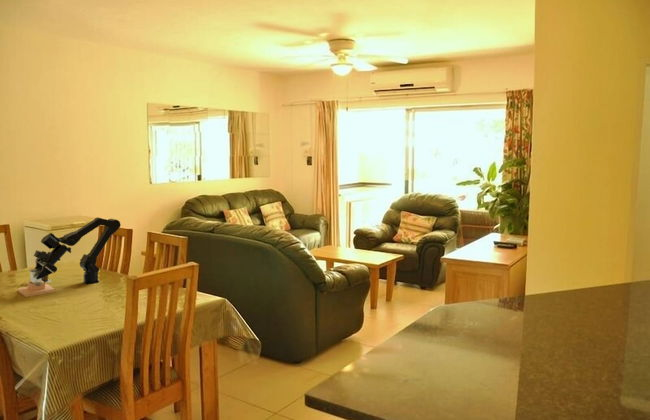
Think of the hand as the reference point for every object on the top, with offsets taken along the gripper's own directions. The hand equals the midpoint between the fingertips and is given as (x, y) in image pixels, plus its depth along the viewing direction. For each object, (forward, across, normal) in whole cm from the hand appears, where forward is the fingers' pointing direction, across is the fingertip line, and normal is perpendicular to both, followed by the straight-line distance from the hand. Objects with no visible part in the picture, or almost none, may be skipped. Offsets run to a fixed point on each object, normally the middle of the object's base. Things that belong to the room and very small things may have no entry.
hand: (34, 277), depth 262 cm
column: (+4, 0, +5) cm, 6 cm away
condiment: (-1, -20, +12) cm, 23 cm away
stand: (+5, 0, +6) cm, 8 cm away
